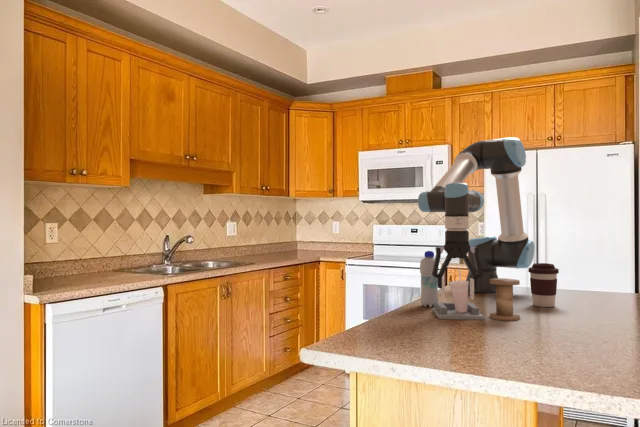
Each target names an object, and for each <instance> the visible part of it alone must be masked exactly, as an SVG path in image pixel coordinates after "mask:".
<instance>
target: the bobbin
mask: <svg viewBox="0 0 640 427" xmlns="http://www.w3.org/2000/svg"><path fill="white" fill-rule="evenodd" d="M489 281H490V284H495V285H496V292H495V294H496V296H495V300H496V301H495V308H496V310H495V311H492V312H490V313H489V318H490V319H492V320H497V321H504V322H513V321H514V322H515V321H520V319H521V315H520V314H519V313H515V312H514V286H519V285H520V279H516V278H504V277H502V278H501V277H500V278H499V277H498V278H495V279H490V280H489Z"/></svg>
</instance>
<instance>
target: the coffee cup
mask: <svg viewBox="0 0 640 427" xmlns="http://www.w3.org/2000/svg"><path fill="white" fill-rule="evenodd" d="M531 265H532V266H529V267H528V268H527V269H528V273H530V277H529V282H530V284H529V285H530V293H531V298H532V300H531V301H532V305H533V306H535V307H540V308H553V307H555V305H556V295H557V287H558V277H557V276H558V274H559V273H560V272H559V270H560V269H559V268H557V267H555V264H553V263H546V262H545V263H544V262H541V263H539V262H536V263H533V264H531Z"/></svg>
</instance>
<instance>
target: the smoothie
mask: <svg viewBox="0 0 640 427" xmlns="http://www.w3.org/2000/svg"><path fill="white" fill-rule="evenodd" d="M457 270H458V271H457V272H458V278H459V280H453V281H449V283H448V286H449V287H450V291H451V296H452V302H454V305H455V309H456V312H458V313H464V312H468V303H469V291H468V285H469V282H468V281H466V280H462V275H461V269H460V268H458V269H457Z"/></svg>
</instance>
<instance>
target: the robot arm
mask: <svg viewBox="0 0 640 427" xmlns="http://www.w3.org/2000/svg"><path fill="white" fill-rule="evenodd" d="M526 163H527V155H526V150H525V146H524V144H523V142H522V141H521V140H520V138H518V137H503V138H494V139H487V140H485V139H484V140H479V141H476V142H474V143H471V144H470V145H468V146H467V147H465V148H464V149H462V150H461V151H459V153H458V154H457V155H456V157H455V158H454V161H453V164H452V165H451V167H450V168H448V169H447V171H446V172H445V174H444V175H442V176H441V178H440V179H439V180H438V182H437V183H436V184H435V185H434V186H433V187H432V189H431V190H430V191H423V192H420V193H419V195H418V197H417V205H418V208H419V210H420V211H421V212H422V213H430V214H431V213H445V214H444V229H446V230H445V231H444V240H445V242H444V245H443V246H436V247H435V249H434V250H435V256H434V257H435V258H434V259H435V261H434V266H433V271H432V276H434V277H436V278H437V279H438V289H440V298H441V299H442V300H445V298H446V297H445V295H446V294H445V293H446V292H445V290H446V289H445V278H443V276H444V275H445V272H446V271H447V269H448V266H449V265H450V263H451V261H452V259H462V260H463V262H464V264H465V266H466V267H467V270H468V271H467V275H466V279H465V281H468V282H469V285H468V292H469V299H471V300H475V293H481V294H482V293H487V294H488V293H489V294H490V293H492V294H493V293H496V285H495V284H490V281H489V280H490V279H495V278H499V277H498V273H497V270H498V268H507V269H509V268H511V269H518V270H519V269H528V268H530V267H531V265H532V262H533V260H534V255H535V242H534V241H533V240H532V239H529V234H527V233H526V232H525V231H524V223H523V222H524V221H523V212H522V200H521V193H520V192H521V191H520V190H521V189H520V182H519V174H520V173H521V172H522V168H523V167H524V166H525V165H526ZM478 170H489V171H490V175H491V176H493V177H494V180H495V186H496V187H495V188H496V196H497V206H498V216H499V222H500V232H501V233H500V234H499V236H498V237H497V236H496V235H493V236H486V237H485V236H484V237H483V236H482V237H476V238H475V237H473V238H470V237H469V236H470V235H469V234H470V232H469V230H468V229H469V228H470V226H469V225H470V224H469V223H470V222H469V213H475V212H478V211H480V210H481V209H482V208H483V206H484V203H485V198H484V197H483V194H481V192H479V191H477V190H474V189H472V190H471V189H469V185H468V183H466V182H465V181H466V180H467V178H468V177H469V176H470V175H472V174H474V173H475V172H476V171H478ZM443 251H445V253H446V254H447V255H446V256H445V259H444V261H443V263H442V265H441V268H440V269H438V268H439V265H440V263H441V262H440V261H441V256H442V255H441V254H442V253H444V252H443ZM437 271H438V274H437Z"/></svg>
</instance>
